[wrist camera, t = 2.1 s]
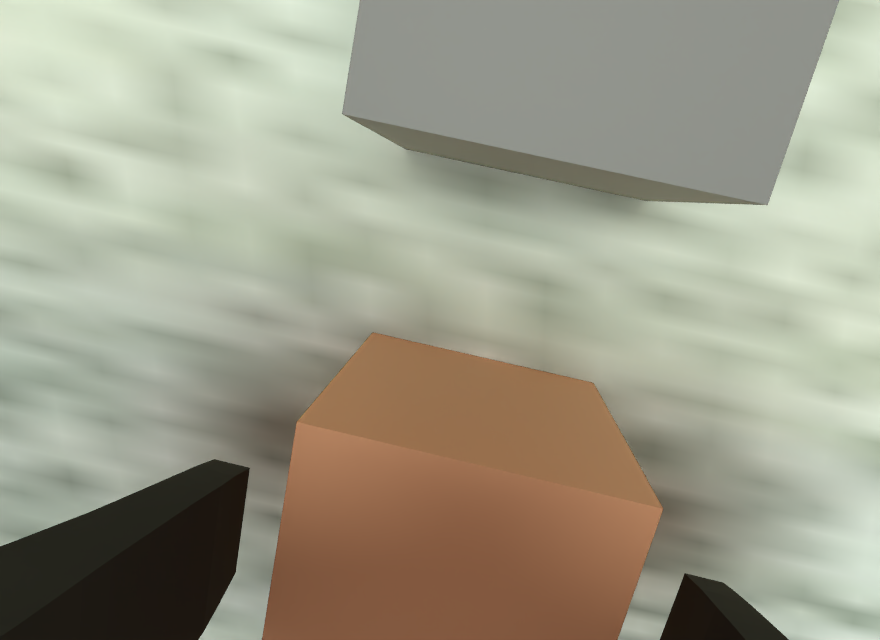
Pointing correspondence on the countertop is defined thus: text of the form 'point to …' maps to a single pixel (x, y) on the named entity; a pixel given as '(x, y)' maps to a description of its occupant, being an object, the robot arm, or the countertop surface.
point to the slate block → (594, 88)
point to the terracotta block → (457, 505)
